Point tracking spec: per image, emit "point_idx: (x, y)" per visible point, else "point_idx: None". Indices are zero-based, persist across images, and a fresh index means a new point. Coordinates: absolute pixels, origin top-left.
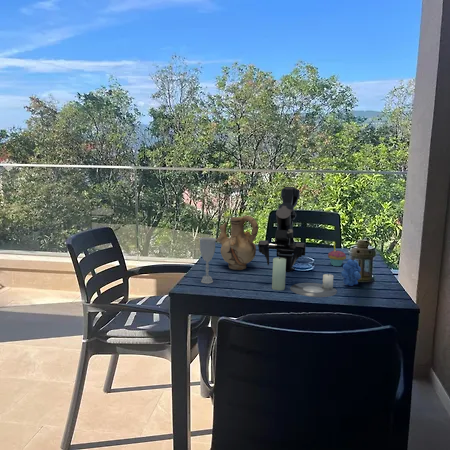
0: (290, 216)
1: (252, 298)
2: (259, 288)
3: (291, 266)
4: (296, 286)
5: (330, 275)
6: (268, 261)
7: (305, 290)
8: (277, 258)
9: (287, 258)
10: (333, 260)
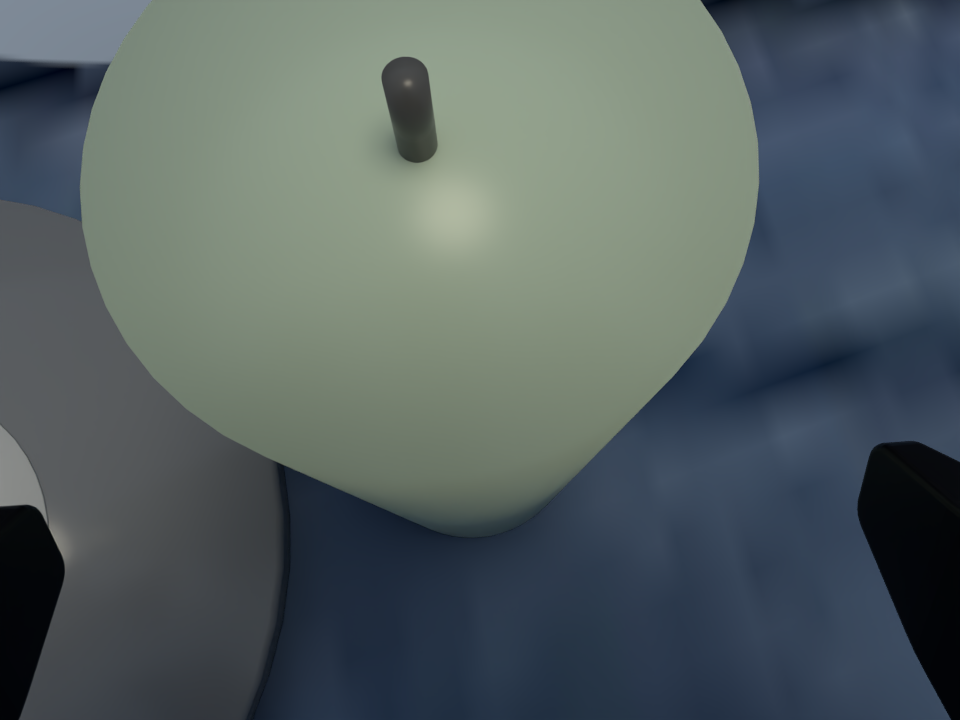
0: None
1: (744, 24)
2: (796, 482)
3: (37, 519)
4: (166, 651)
5: None
6: (957, 491)
7: (10, 452)
8: (543, 211)
9: None
10: None
